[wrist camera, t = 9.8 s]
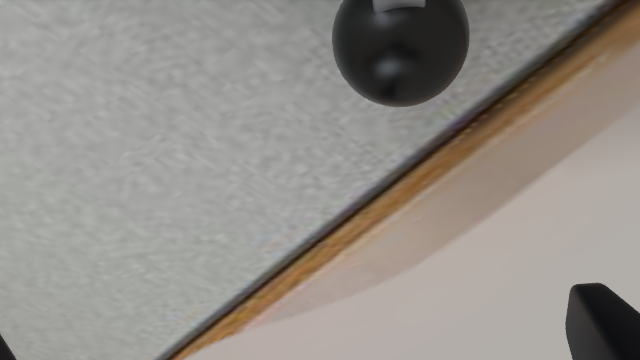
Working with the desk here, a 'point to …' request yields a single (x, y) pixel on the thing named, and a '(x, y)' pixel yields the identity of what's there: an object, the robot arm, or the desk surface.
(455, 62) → the lever
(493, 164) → the desk surface
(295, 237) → the desk surface
